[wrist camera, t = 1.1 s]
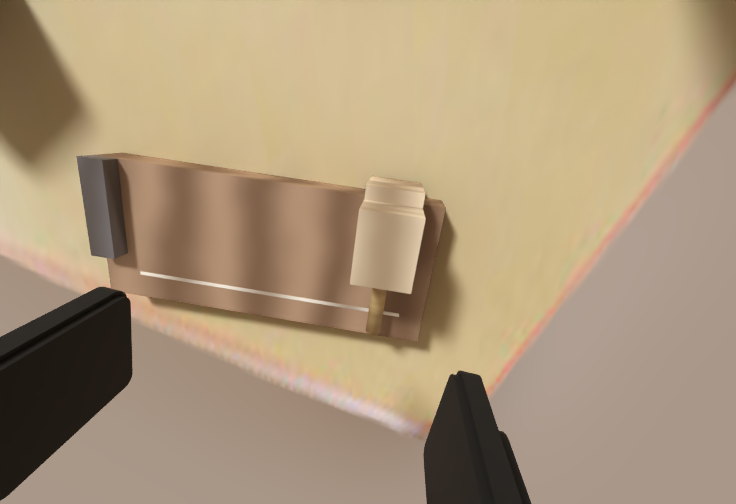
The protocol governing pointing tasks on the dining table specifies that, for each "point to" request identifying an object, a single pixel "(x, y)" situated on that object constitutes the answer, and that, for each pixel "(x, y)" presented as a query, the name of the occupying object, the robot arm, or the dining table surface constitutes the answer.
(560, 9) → the dining table surface
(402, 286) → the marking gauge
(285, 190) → the walnut board
